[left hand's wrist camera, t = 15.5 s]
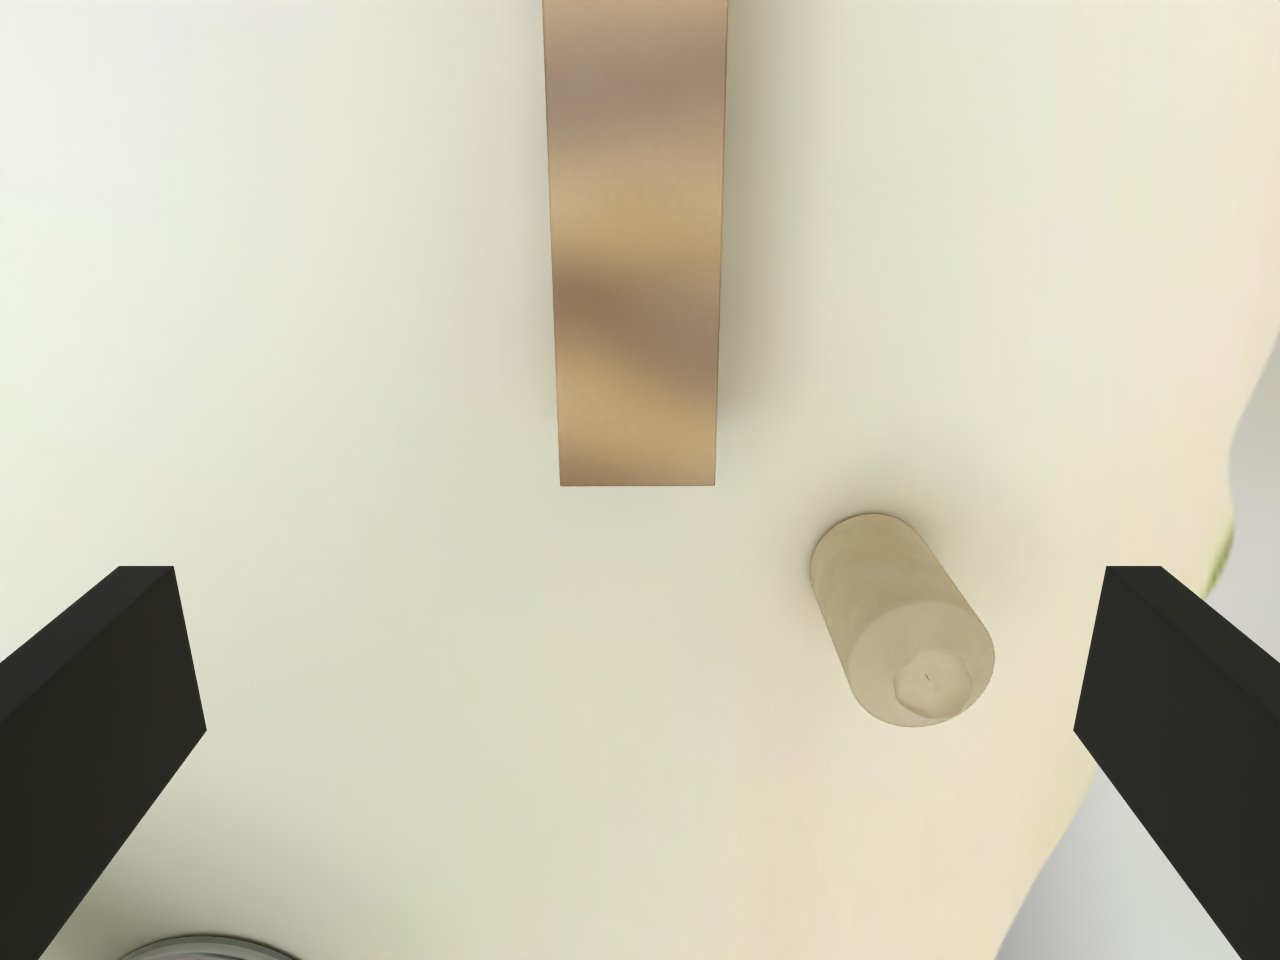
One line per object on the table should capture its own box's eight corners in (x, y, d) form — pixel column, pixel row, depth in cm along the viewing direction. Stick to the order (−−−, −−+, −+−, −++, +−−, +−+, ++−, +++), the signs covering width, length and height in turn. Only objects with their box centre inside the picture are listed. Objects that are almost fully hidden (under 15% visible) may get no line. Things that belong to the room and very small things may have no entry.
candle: (786, 587, 42) (827, 713, 33) (851, 491, 41) (914, 596, 31) (883, 636, 43) (950, 773, 34) (950, 545, 42) (1041, 662, 32)
